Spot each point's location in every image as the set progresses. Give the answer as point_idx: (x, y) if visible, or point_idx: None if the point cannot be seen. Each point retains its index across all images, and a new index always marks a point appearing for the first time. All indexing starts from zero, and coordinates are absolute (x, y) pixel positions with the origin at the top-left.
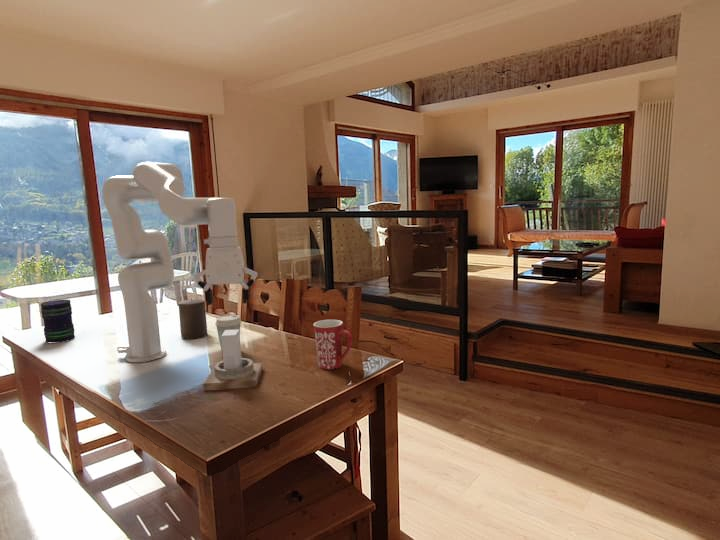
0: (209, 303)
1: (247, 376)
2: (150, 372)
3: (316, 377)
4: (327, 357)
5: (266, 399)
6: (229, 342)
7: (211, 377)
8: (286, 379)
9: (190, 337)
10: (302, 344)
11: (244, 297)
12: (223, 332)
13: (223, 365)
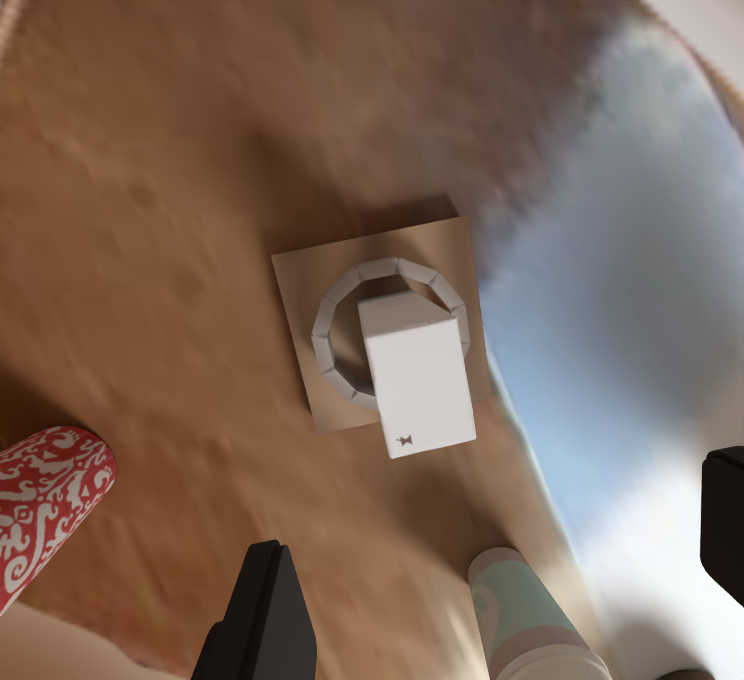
0: (733, 457)
1: (320, 292)
2: (715, 375)
3: (81, 352)
4: (22, 447)
5: (192, 141)
6: (400, 318)
7: (460, 277)
8: (190, 330)
9: (685, 677)
10: None
11: (237, 612)
12: (546, 618)
13: None
